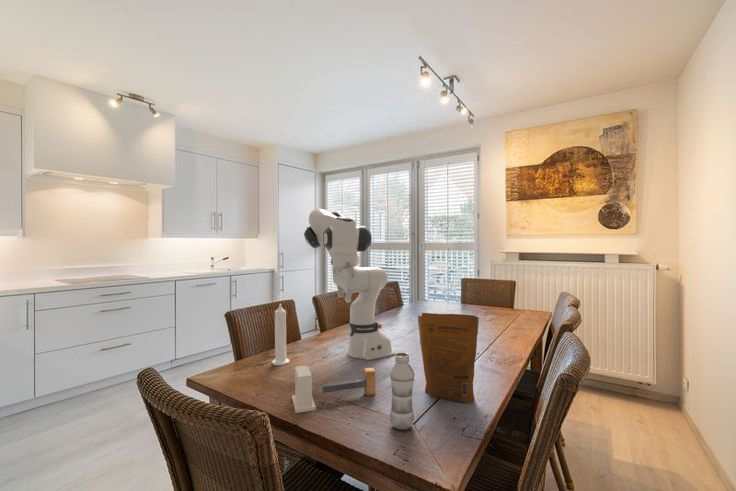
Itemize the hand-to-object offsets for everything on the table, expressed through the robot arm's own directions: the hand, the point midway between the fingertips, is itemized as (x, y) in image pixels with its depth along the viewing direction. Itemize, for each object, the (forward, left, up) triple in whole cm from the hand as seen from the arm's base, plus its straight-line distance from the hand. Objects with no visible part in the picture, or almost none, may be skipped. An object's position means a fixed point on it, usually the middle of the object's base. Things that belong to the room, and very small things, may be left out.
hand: (344, 299), depth 125 cm
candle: (+21, -28, -30) cm, 46 cm away
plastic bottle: (-7, +34, -30) cm, 46 cm away
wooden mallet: (+2, +12, -30) cm, 32 cm away
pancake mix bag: (-29, +23, -30) cm, 48 cm away
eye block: (+17, +12, -30) cm, 36 cm away
